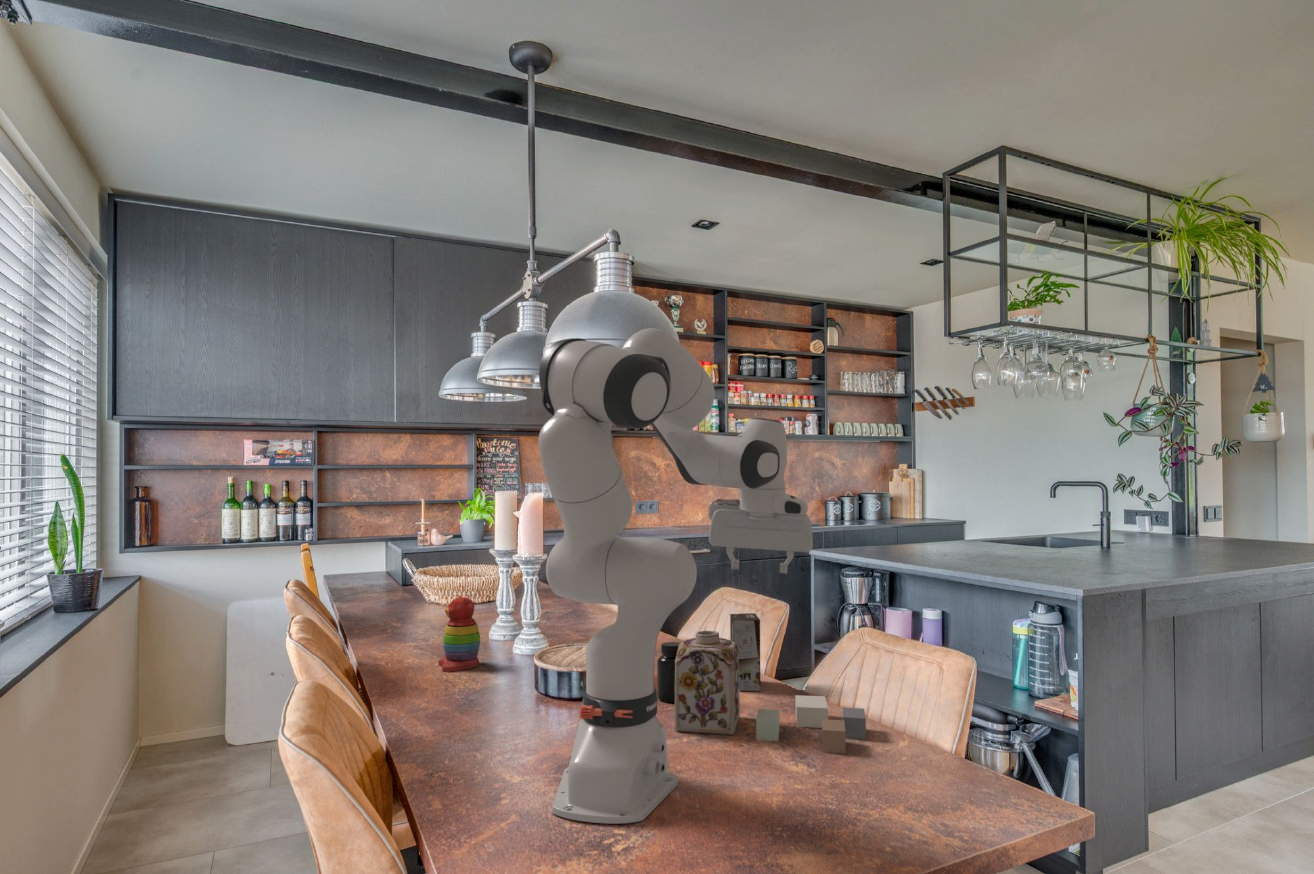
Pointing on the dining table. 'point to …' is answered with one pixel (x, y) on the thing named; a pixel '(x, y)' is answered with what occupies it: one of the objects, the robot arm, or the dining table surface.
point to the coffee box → (747, 649)
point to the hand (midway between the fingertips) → (759, 570)
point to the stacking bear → (460, 637)
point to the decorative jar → (707, 685)
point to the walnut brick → (833, 736)
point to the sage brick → (767, 725)
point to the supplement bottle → (667, 672)
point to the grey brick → (854, 723)
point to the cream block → (810, 710)
